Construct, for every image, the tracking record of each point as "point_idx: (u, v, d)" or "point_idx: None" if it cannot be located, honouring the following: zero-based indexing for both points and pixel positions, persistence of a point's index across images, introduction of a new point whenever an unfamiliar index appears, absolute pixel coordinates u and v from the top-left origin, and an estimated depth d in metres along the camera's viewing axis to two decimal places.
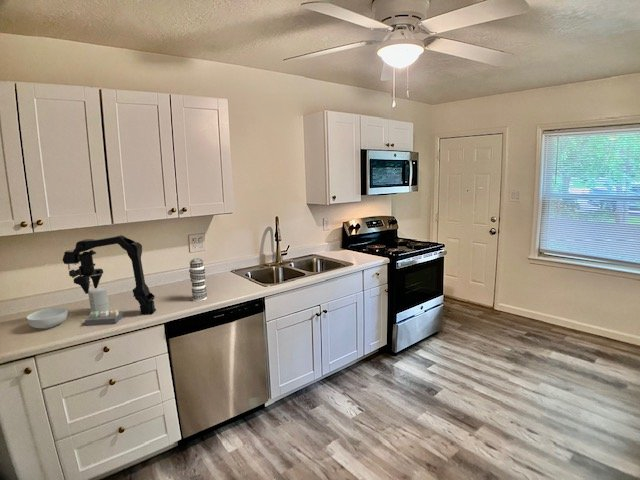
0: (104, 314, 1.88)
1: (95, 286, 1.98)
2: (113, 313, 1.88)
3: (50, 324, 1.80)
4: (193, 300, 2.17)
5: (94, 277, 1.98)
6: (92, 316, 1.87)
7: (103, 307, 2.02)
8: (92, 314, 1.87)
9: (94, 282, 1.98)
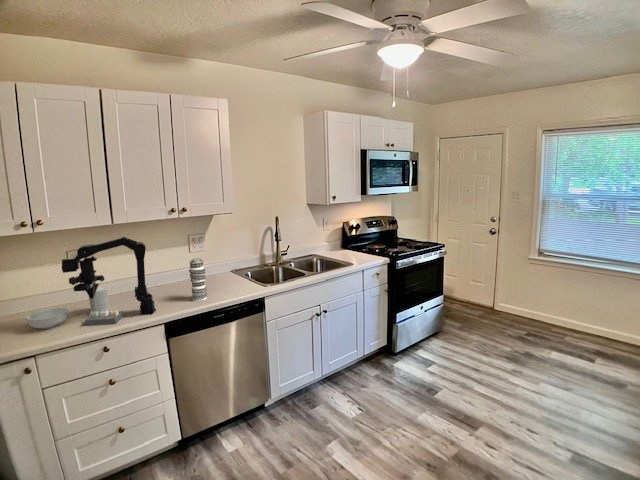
0: (104, 314, 1.88)
1: None
2: (113, 313, 1.88)
3: (50, 324, 1.80)
4: (193, 300, 2.17)
5: None
6: (92, 316, 1.87)
7: (103, 307, 2.02)
8: (92, 314, 1.87)
9: None
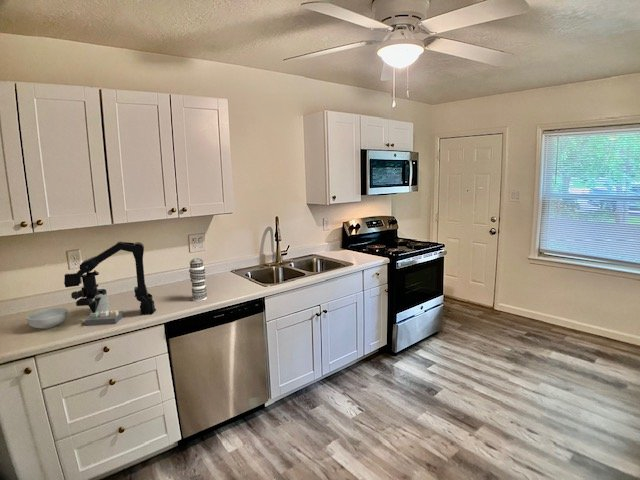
0: (104, 314, 1.88)
1: None
2: (113, 313, 1.88)
3: (50, 324, 1.80)
4: (193, 300, 2.17)
5: None
6: (92, 316, 1.87)
7: (103, 307, 2.02)
8: (92, 314, 1.87)
9: None
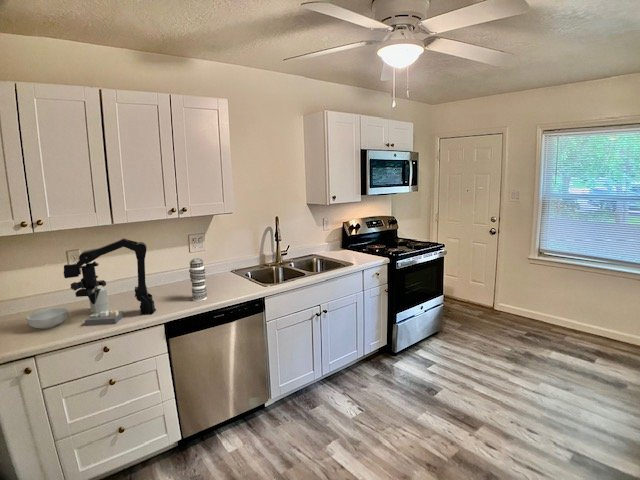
0: (104, 314, 1.88)
1: None
2: (113, 313, 1.88)
3: (50, 324, 1.80)
4: (193, 300, 2.17)
5: None
6: None
7: (103, 307, 2.02)
8: (92, 316, 1.87)
9: None
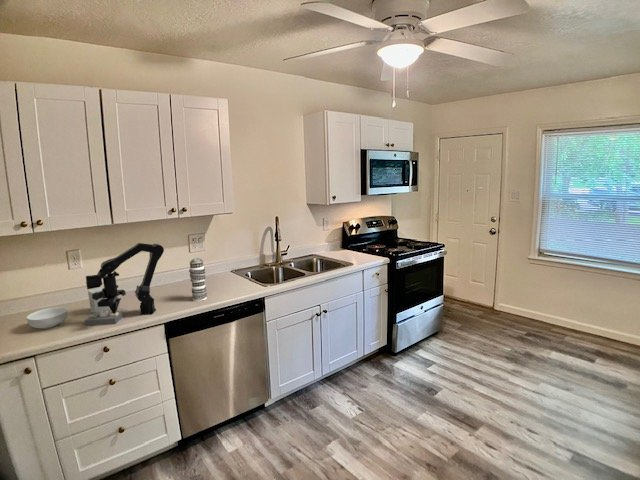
0: (104, 314, 1.88)
1: None
2: (113, 315, 1.88)
3: (50, 324, 1.80)
4: (193, 300, 2.17)
5: None
6: None
7: (103, 307, 2.02)
8: (92, 316, 1.87)
9: None
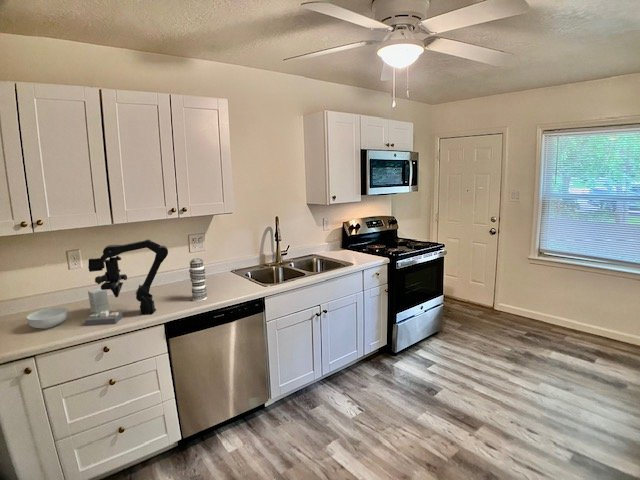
0: (104, 314, 1.88)
1: None
2: (113, 315, 1.88)
3: (50, 324, 1.80)
4: (193, 300, 2.17)
5: None
6: None
7: (103, 307, 2.02)
8: (92, 316, 1.87)
9: None
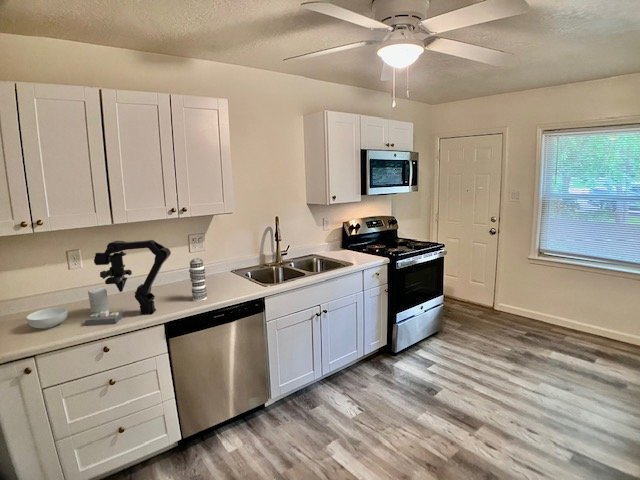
0: (104, 314, 1.88)
1: None
2: (113, 315, 1.88)
3: (50, 324, 1.80)
4: (193, 300, 2.17)
5: None
6: None
7: (103, 307, 2.02)
8: (92, 316, 1.87)
9: None
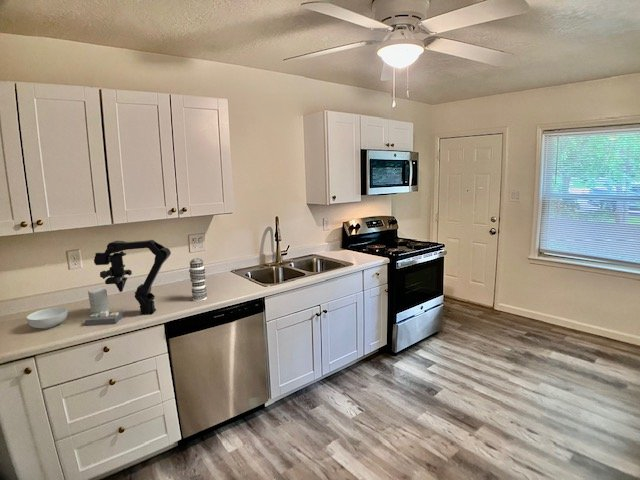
0: (104, 314, 1.88)
1: None
2: (113, 315, 1.88)
3: (50, 324, 1.80)
4: (193, 300, 2.17)
5: None
6: None
7: (103, 307, 2.02)
8: (92, 316, 1.87)
9: None
